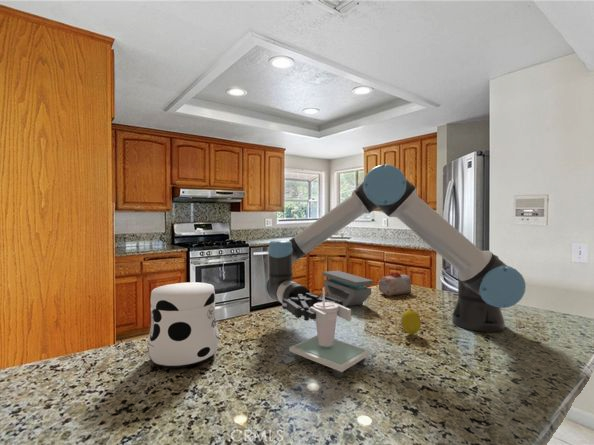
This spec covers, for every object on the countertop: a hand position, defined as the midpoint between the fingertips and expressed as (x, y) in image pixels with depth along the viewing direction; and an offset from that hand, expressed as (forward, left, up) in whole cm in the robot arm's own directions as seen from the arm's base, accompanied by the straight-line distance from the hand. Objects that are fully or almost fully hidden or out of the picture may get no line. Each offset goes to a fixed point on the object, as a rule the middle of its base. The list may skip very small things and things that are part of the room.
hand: (337, 317), depth 78 cm
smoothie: (+5, -2, -8) cm, 10 cm away
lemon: (-3, -33, -13) cm, 35 cm away
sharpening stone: (+33, -51, -13) cm, 62 cm away
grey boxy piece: (+24, -77, -13) cm, 81 cm away
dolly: (+4, -2, -12) cm, 13 cm away
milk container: (+33, +21, -13) cm, 41 cm away
